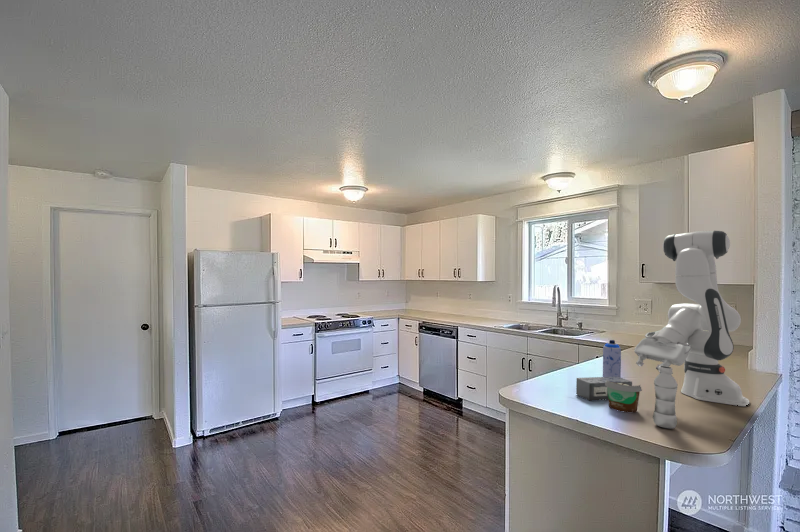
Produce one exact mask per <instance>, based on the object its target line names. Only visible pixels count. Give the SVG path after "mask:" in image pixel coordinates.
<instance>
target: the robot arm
mask: <svg viewBox="0 0 800 532" xmlns="http://www.w3.org/2000/svg"><path fill="white" fill-rule="evenodd" d="M730 246H731V240H730V238H729V236H728V233H726V232H725V231H723V230H713V231H712V230H711V231H710V230H709V231H708V230H700V231H699V230H698V231H695V230H694V231H692V232H691V231H690V232H683V233H678V234H677V233H673V234H669V235H667V236H666V237H665V238H664V240H663V242H662V250H663V252H664V255H665V256H666V257H667V258H668V259H670V260H672V261H673V262H675V269H674V274H675V275H674V276H675V278H674V283H675V287H676V290H677V292H678V293H679V294H681V295H682V296H683V297H685V298H686V299H688V300H691V301H693V302H695V303H687V302H684V303H675V304H672V305H671V306H670V307H669V309H668V311H667V318H668V321H667V324H666V325H664V327H662V328H661V329H660V330H657V331H651V332H650V331H649V332H646V334H645V335H644V337H645V338H644V337H643V338H642V339H641V340H640V341H639V342H638V343H637V345H636V346H635V348H634V353H635V354H636V355H637V358H638V359H637V361H636V363H635V364H636V365H637V366H638V367H643V365H644V364H645V363H644V361H645V360H652V361H656V362H661V363H660V364H657V365H656V366H655V369H656V370H657V371H658V372H659V366H667V367H671V365H674V366H677V367H678V366H682V365H683V371H684V379H683V385H682V387H681V390H680V392H681V393H682V394H684V395H686V396H688V397H692V398H694V399H696V400H699V401H704V402H712V403H718V404H725V405H731V406H732V405H733V406H737V405H738V406H737V407H747V406H746V405H748V404H749V405H750V400H749V398H747V397H745V396H744V395H743V392H742V388H741V386H740V385H739V384H738V383H737V382H736V381H734V380H733V379H731V378H730V377H729V376H728V375H726V374H725V372H726V368H725V366H724V365H722V364H720V363H719V361H724V360H726V359H727V358H728V357H730V356H731V355H732V354H733V352H734V342H733V339H732V337H731V334H730V332H735V331H736V330H738V329H739V327H740V325H741V323H742V319H741V315H740V313H739V312H738V310H736V308H734V307H732V306H731V305H729V304H728V303H727V302H726V300H724V298H723V296H722V295H721V293H720V290H719V287H718V279H717V266H716V260H718V259H719V258H721V257H723V256H725V255H726V254H727V253H728V251H729V249H730ZM749 405H748V406H749Z"/></svg>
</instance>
